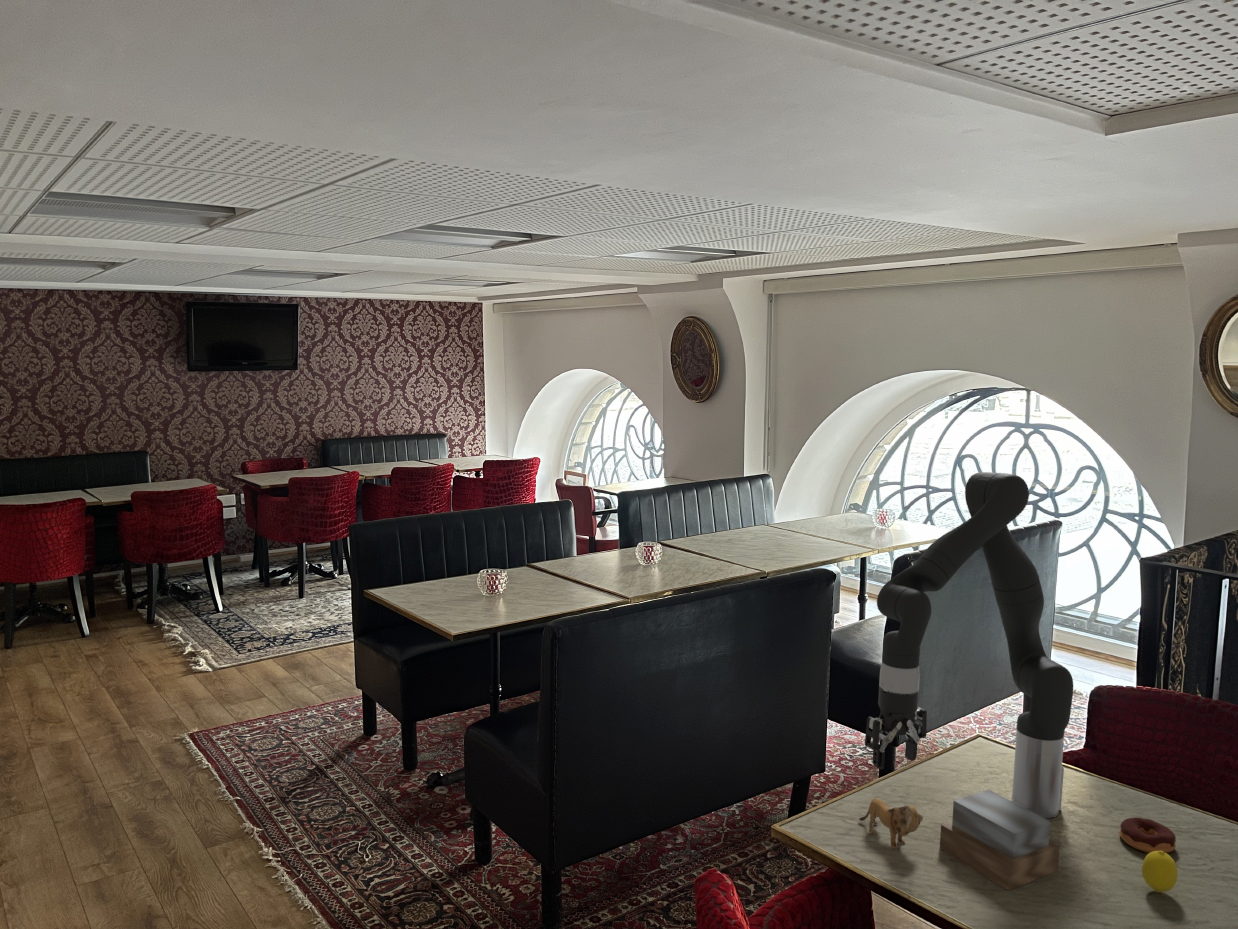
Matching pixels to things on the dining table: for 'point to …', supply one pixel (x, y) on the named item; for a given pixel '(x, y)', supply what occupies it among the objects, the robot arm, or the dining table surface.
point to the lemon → (1159, 871)
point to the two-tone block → (1000, 839)
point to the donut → (1147, 835)
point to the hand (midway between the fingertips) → (894, 763)
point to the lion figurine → (893, 820)
